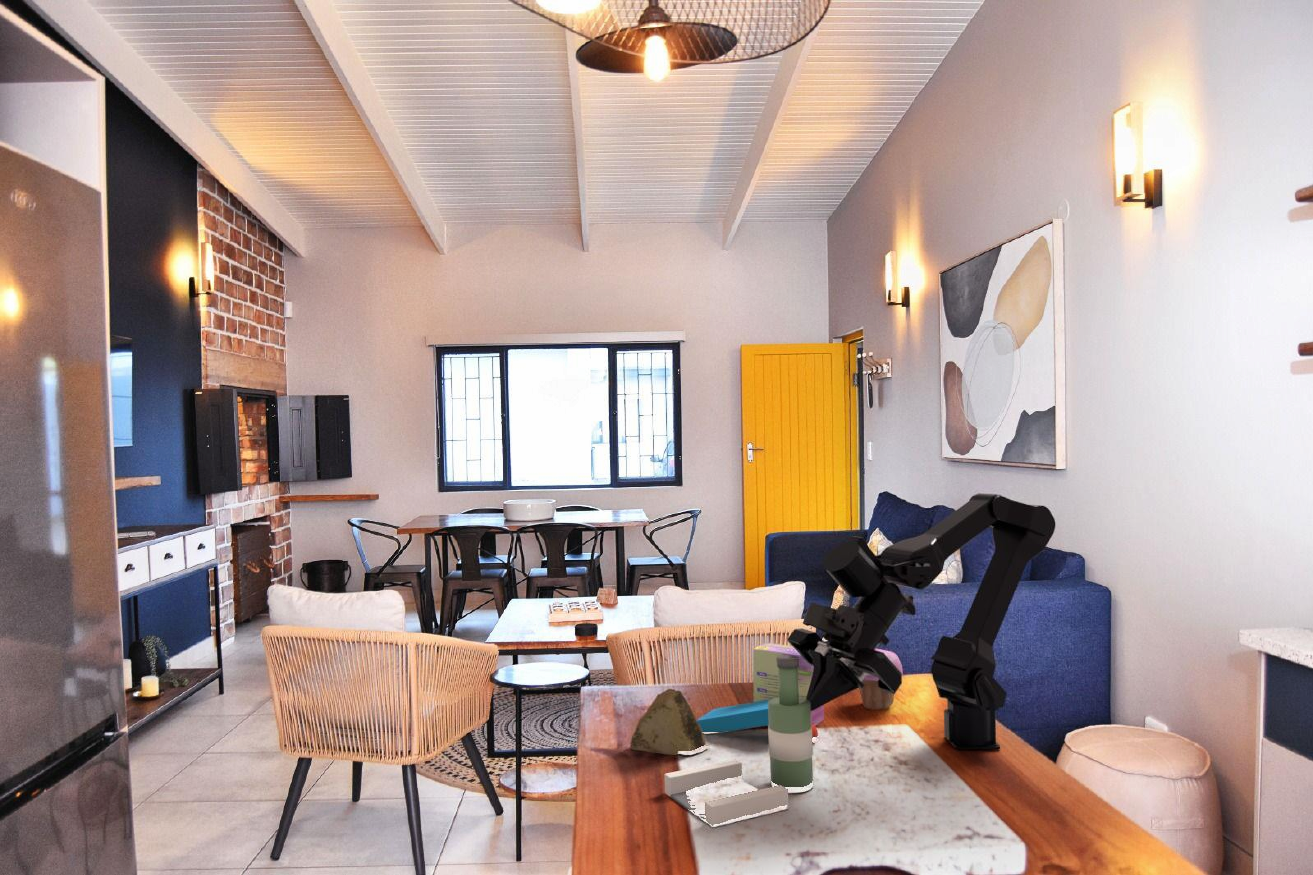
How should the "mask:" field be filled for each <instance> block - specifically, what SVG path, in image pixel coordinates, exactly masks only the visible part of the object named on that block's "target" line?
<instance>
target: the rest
mask: <svg viewBox="0 0 1313 875" xmlns="http://www.w3.org/2000/svg"><path fill="white" fill-rule="evenodd" d="M741 775H742V776H743V762H742V761H739V760H738V759H736V758H735V759H730V760H725V761H720V762H715V763H709V764H706V765H701V766H700V765H699V766H695V767H691V768H685V769H681V770H677V771H673V772H672V771H671V772H667V773H664V793H665V794H666V795H667V796H668V797H670V798H671V799H672V800H673V801H675V802H676V803H678V804H679V805H680V806H682V807H683V808H684V809H686V810H687V811H689V810H695V809H696V808H691V807H690V806H691V805H690V804H689V803H690V802H689V803H688V801H691V800H690V799H687V797H689V796H687V795H686V791H688V790H691V789H693V788H695V787H700V786H703V785H706V784H709V783H714V782H715V783H716V782H717V781H720V780H725V779H727V778H734V777H738V776H741ZM785 805H788V806H789V793H788V789H786V788H785V787H783V786H781V785H778V786H774V787H771V786H770V787H766V788H761V789H759V790H757V791H752V792H748V793H744V794H739V795H735V796H731V797H726V798H722V799H718V800H713V801H709V802H705V814H699V815H705V816H706V818H704V817H701V818H703V819H706V821H707V822H708V823H709V824H711V825H712V826H713V825H714V824H720V823H723V822H726V821H728V820H731V819H736V818H739V817H742V816H745V815H746V816H747V815H753V814H756V813H760V812H762V811H765V810H771V809H774V808H777V807H779V806H785ZM692 806H695V805H692ZM688 809H689V810H688ZM693 812H694V811H693ZM694 813H695V812H694Z"/></svg>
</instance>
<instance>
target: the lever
mask: <svg viewBox="0 0 1313 875" xmlns="http://www.w3.org/2000/svg"><path fill="white" fill-rule="evenodd" d="M770 700H771V699H769V700H764V701H758V702H754V701H753V702H748V703H747V702H746V703H742V704H734V705H729V706H723V707H719V708H714V709H712V710H710V711H709V712H707V713H706V714H704V715H703V716H701V717H699V718H698V719H696V720H697V722H698V724H699V725H700V726H701V729H702V732H722V733H726V732H727V733H728V732H734V731H741V730H746V729H752V728H759V727H765V726H767V727H768V725H769V714H768V702H769V701H770ZM811 726H812V738H813V737H817V736H818V737H819V732H818V729H817V726H814V725H813V724H811ZM818 737H817V738H818Z"/></svg>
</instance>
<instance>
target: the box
mask: <svg viewBox="0 0 1313 875" xmlns="http://www.w3.org/2000/svg"><path fill="white" fill-rule="evenodd" d="M783 655H792V656H797V657H799V667H798V689H799V698H804V699H806V697H807V693H808V690H809V686H810V683H811V679H812V674H813V669H814V666H812V665H811V664H809V663H808V662H807V661H806V660H805V659H804V658H803V657H802V656H801V655H800V654H799V653H798V651H797V650H796V649H795V648H794V647H793V646H792V645H788V644H779V643H771V642H765V643H763V644H761V645H758V646H756V647H754V648H753V651H752V656H753V659H752V660H753V661H752V666H753V669H752V670H753V672H752V673H753V702H758V701H764V700H769V699H774V698H778V697H779V678H778V667H777V663H776V658H777V657H778V656H783ZM824 721H825V704H824V705H822V706H821V707H819V708H817V709H815V710H813V711H811V724H813V725H814V726H815V727H817V726H819V725H820V724H821V723H823V722H824Z"/></svg>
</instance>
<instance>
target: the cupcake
mask: <svg viewBox="0 0 1313 875" xmlns="http://www.w3.org/2000/svg"><path fill="white" fill-rule="evenodd" d="M875 650H876V651H880V652H883V653H884V654H885V655H886V656H887V657H888V658H889V660H890V661H891V662H892V663H893V664H894V665H895V666H896V667H897V669H898V670H899V671H900V672H901V673H902V675H903V674H904V673H903V666H902V662H901V660H900V659H899V656H898V655H897V654H896V653H895V652H893V651H890V650H886V649H885V650H884V649H881V648H876V649H875ZM878 680H879V678H878V677H877V676H874V675H871V674H869V675H866V676H865V678H864V679H863V681H862V683H863V684H864V687H863V688H862V689H861V688H858V690H859V694H860V698H861V702H862V704H863V706H864V708H865V709H868V710H871V711H873V710H875V711H876V710H886V709H888V708H890V707H891V706H893V704H894V700H895V699H894V698H895V694H892V693H889V692H886V691H883V690H881V689H880V688H879V685H878Z"/></svg>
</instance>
